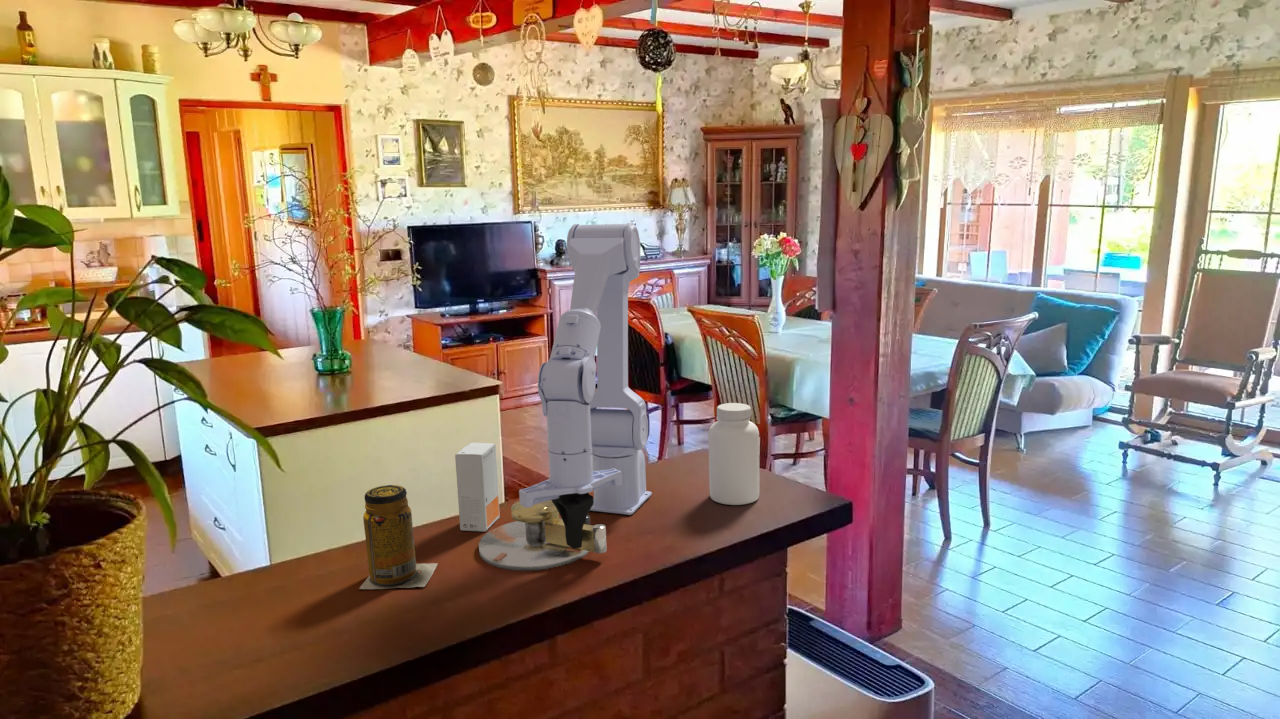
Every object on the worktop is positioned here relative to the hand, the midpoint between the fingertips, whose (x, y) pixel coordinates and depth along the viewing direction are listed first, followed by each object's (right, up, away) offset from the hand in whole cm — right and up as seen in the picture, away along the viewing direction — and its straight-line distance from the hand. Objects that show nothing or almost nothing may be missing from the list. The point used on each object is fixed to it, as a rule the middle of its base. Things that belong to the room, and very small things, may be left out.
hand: (574, 545), depth 117 cm
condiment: (-23, -4, -2) cm, 23 cm away
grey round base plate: (-6, -1, +6) cm, 8 cm away
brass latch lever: (-2, 0, +4) cm, 4 cm away
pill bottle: (+24, +3, +22) cm, 33 cm away
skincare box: (-15, 0, +15) cm, 21 cm away
